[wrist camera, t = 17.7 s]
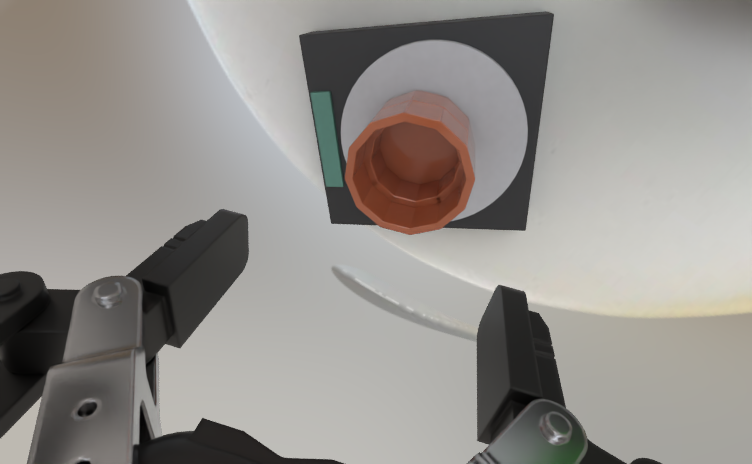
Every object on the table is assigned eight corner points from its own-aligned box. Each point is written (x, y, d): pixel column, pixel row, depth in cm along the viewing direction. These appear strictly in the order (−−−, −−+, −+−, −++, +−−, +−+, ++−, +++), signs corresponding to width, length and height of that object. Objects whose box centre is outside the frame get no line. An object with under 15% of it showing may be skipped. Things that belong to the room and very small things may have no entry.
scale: (339, 210, 29) (328, 228, 27) (311, 31, 23) (294, 36, 21) (522, 215, 26) (526, 236, 24) (547, 11, 20) (556, 14, 18)
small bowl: (362, 177, 24) (339, 216, 20) (379, 78, 21) (355, 100, 17) (456, 201, 24) (452, 246, 20) (488, 103, 20) (491, 133, 16)
